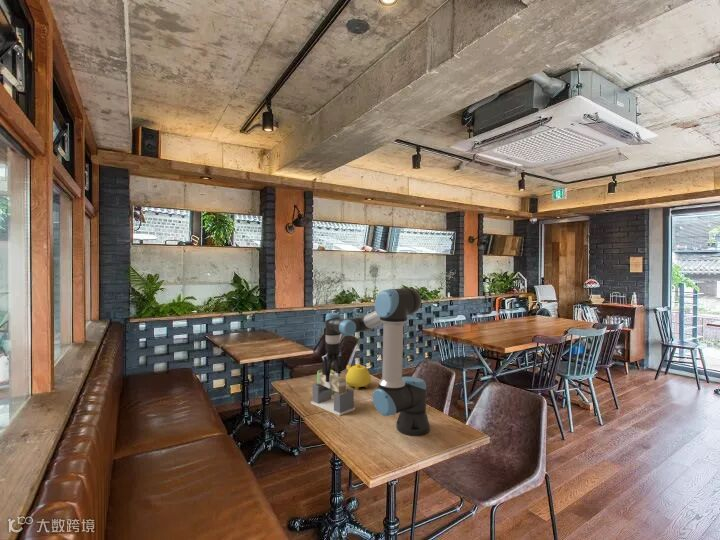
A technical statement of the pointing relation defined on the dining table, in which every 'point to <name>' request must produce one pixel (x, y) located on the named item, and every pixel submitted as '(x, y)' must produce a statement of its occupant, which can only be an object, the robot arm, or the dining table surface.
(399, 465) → the dining table surface
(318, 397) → the bracket board
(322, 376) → the rail
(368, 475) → the dining table surface
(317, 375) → the mug
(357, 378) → the teapot
